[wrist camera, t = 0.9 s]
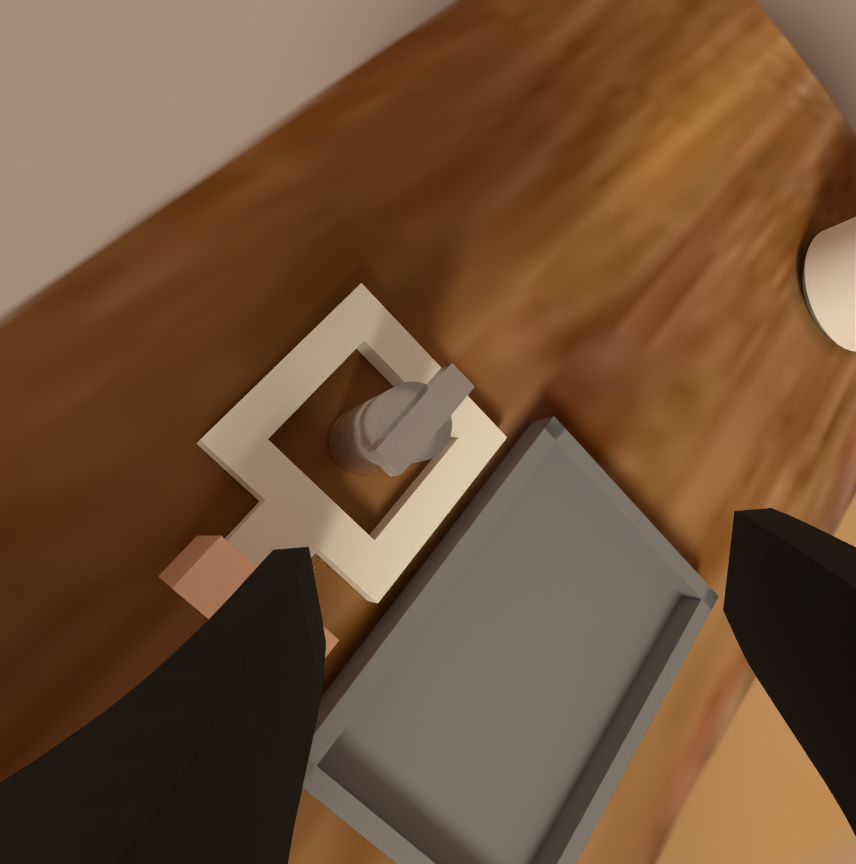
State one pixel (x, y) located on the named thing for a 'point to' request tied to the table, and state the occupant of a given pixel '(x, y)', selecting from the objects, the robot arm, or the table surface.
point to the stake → (399, 425)
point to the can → (833, 282)
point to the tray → (511, 670)
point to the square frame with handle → (301, 498)
